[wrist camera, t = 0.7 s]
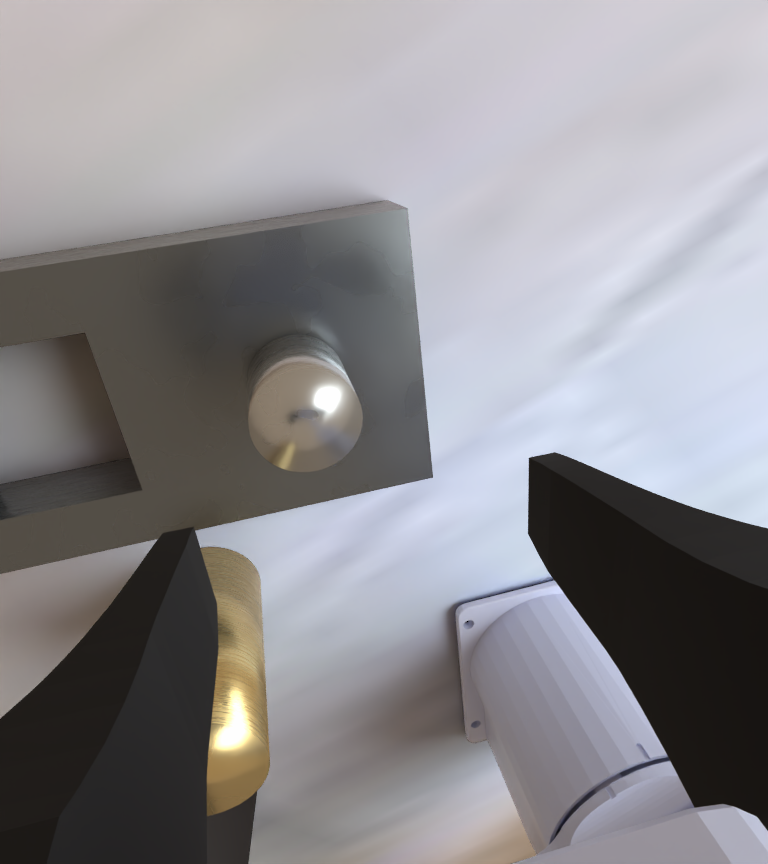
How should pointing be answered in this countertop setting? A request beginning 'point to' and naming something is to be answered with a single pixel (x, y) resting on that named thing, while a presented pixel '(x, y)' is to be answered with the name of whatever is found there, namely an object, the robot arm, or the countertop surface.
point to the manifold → (226, 375)
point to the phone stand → (231, 834)
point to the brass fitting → (237, 684)
